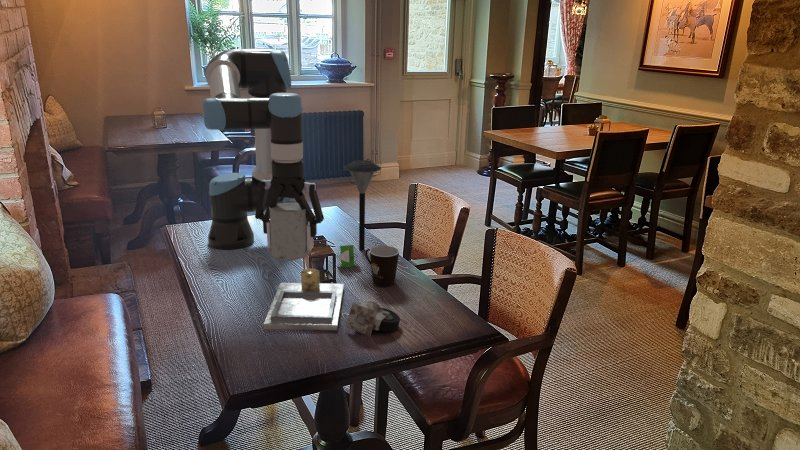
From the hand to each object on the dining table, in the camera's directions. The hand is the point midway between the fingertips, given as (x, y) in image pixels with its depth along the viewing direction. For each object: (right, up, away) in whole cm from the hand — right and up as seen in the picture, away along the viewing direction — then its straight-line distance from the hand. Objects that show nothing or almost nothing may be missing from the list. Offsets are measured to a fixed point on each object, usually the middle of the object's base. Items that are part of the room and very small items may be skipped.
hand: (290, 247), depth 143 cm
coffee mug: (+22, -11, +26) cm, 36 cm away
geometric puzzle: (+11, -7, +36) cm, 39 cm away
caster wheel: (+22, -20, 0) cm, 30 cm away
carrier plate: (+3, -16, +9) cm, 19 cm away
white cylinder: (0, -2, +1) cm, 2 cm away
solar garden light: (+15, -3, +50) cm, 52 cm away
